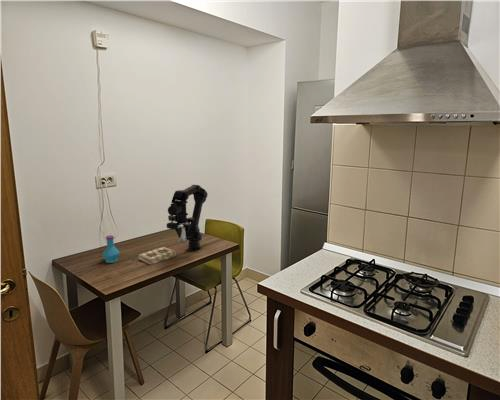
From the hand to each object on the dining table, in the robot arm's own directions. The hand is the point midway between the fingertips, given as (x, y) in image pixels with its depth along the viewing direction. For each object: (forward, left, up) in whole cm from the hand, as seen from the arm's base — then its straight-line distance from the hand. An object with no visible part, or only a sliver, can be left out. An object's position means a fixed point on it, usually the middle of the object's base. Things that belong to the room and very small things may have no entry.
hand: (182, 236), depth 208 cm
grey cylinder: (0, 0, -3) cm, 3 cm away
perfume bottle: (+31, -27, -13) cm, 43 cm away
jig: (+11, -10, -12) cm, 20 cm away
